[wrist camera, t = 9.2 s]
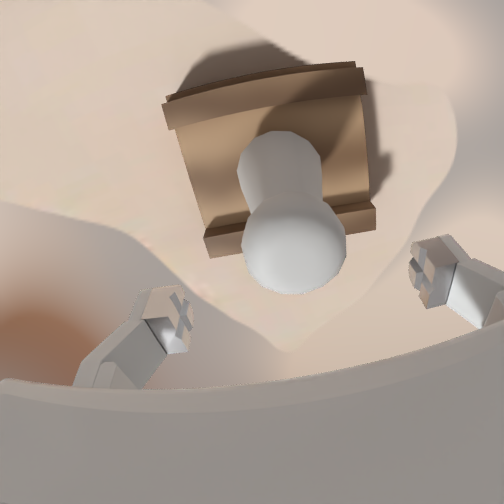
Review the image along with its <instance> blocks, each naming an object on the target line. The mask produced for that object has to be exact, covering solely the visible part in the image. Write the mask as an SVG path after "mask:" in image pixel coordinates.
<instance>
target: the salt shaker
mask: <svg viewBox="0 0 504 504" xmlns="http://www.w3.org/2000/svg"><path fill="white" fill-rule="evenodd" d="M237 174H238V178H239V182H240V186H241V189H242V192H243V194H244V197H245V199H246V202H247V204H248V207H249V209H250V212H251V215H250V216H249V217H248V219H247V223H246V226H245V230H244V234H243V237H242V243H241V247H242V251H243V255H244V259H245V262H246V265H247V269H248V272H249V274H250V275H251V276H252V277H253V278H254V279H255V280H256V281H257V282H258V283H259V284H260V285H261V286H262V287H264V288H267V289H269V290H272V291H275V292H278V293H280V294H304V293H307V292H310V291H312V290H315V289H318V288H321V287H323V286H324V285H325V284H326V283H328V282H329V281H330V280H331V279H332V278H334V277H335V276H336V275H337V274H338V273H339V271H340V269H341V267H342V264H343V262H344V260H345V258H346V236H345V229H344V226H343V225H342V223H341V222H340V220H339V219H338V217H337V216H336V214H335V213H334V212H333V210H332V209H331V207H330V206H329V204H327V203H326V202H324V201H323V194H322V169H321V161H320V156H319V154H318V153H317V151H316V150H315V149H314V147H313V146H312V145H311V143H310V142H309V141H308V140H306V139H304V138H302V137H301V136H299V135H297V134H295V133H293V132H291V131H270V132H267V133H265V134H263V135H260V136H258V137H256V138H254V139H253V140H252V141H251V142H250V144H249V145H248V146H247V147H246V148H245V149H244V151H243V152H242V153H241V156H240V160H239V164H238V168H237Z"/></svg>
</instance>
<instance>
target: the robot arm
mask: <svg viewBox="0 0 504 504" xmlns="http://www.w3.org/2000/svg"><path fill="white" fill-rule="evenodd" d="M410 252H411V254H412V255H413V258H412V260H411V261H410V262H409V277H410V280H411V283H412V285H413V286H414V288H416V289H417V290H419V291H420V294H419V297H420V299H421V301H422V302H423V304H424V306H425V308H426V309H429V308H433V307H436V306H441V305H444V304H446V305H447V306H448V307H449V308H451V309H452V310H454V311H455V312H456V313H458V314H459V315H460V316H462V317H463V318H465V319H466V320H467V321H469V322H470V323H471V324H473V325H474V326H475V327H477V328H478V330H476V331H473V332H470V333H468V334H465V335H462V336H459V337H456V338H454V339H451V340H448V341H445V342H442V343H439V344H436V345H432V346H429V347H426V348H423V349H419V350H416V351H413V352H409V353H406V354H403V355H399V356H395V357H391V358H388V359H383V360H379V361H375V362H371V363H367V364H363V365H358V366H354V367H349V368H345V369H340V370H335V371H330V372H325V373H320V374H314V375H308V376H302V377H296V378H290V379H283V380H275V381H268V382H259V383H251V384H241V385H231V386H219V387H205V388H186V389H150V390H149V389H142V388H143V387H144V386H145V384H146V383H147V381H148V380H149V379H150V378H151V376H152V375H153V374H154V372H155V371H156V370H157V368H158V367H159V366H160V364H161V363H162V362H163V360H164V359H165V358H166V356H167V354H174V353H182V352H189V347H190V342H191V336H190V334H189V331H190V330H191V329H192V328H193V323H194V317H193V311H192V308H191V305H190V303H189V302H188V301H187V300H185V299H184V295H185V292H184V290H183V288H182V286H180V285H172V286H164V287H157V288H151V289H144V290H141V291H140V292H139V294H138V296H137V299H136V301H135V304H134V306H133V309H132V311H131V314H130V317H129V319H128V321H127V322H123V323H122V324H121V325H120V326H119V327H118V328H117V329H116V330H115V331H114V332H113V333H111V334H110V335H109V336H108V337H107V338H106V339H105V340H104V341H103V342H102V343H101V344H100V345H98V346H97V347H96V348H95V349H94V350H93V351H92V352H91V353H90V354H89V355H88V356H87V357H86V358H85V359H83V360H82V362H81V365H80V367H79V370H78V372H77V375H76V377H75V380H74V383H73V386H63V385H53V384H44V383H36V382H29V381H23V380H17V379H11V378H7V379H3V380H2V381H1V382H0V504H504V272H503V271H501V270H499V269H497V268H495V267H492V266H490V265H488V264H486V263H484V262H482V261H479V260H477V259H471V258H470V257H469V256H468V254H467V253H466V252H465V251H464V250H463V249H462V248H461V246H460V245H459V244H458V243H457V242H456V241H455V240H454V239H453V237H452V236H451V235H449V234H446V235H442V236H437V237H435V238H430V239H426V240H421V241H416V242H413V243H412V245H411V251H410Z"/></svg>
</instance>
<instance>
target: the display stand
mask: <svg viewBox="0 0 504 504" xmlns="http://www.w3.org/2000/svg"><path fill="white" fill-rule="evenodd" d="M361 95H367V91H366V84H365V77H364V71H363V67H361V68H360V67H359V68H356V64H355V61H351V62H336V63H325V64H314V65H305V66H298V67H290V68H283V69H277V70H271V71H265V72H260V73H254V74H249V75H244V76H240V77H235V78H230V79H226V80H222V81H218V82H214V83H210V84H206V85H202V86H198V87H195V88H191V89H188V90H184V91H181V92H177V93H174V94H171V95H168V96H166V100H167V103H164V104H161V105H162V108H163V112H164V115H165V119H166V122H167V126H168V129H169V130H172V129H175V131H176V135H177V138H178V142H179V145H180V148H181V152H182V155H183V158H184V162H185V165H186V168H187V171H188V175H189V178H190V181H191V184H192V188H193V191H194V194H195V197H196V200H197V203H198V207H199V210H200V213H201V216H202V219H203V222H204V225H205V228H206V230H205V234H204V237H203V239H204V242H205V245H206V248H207V251H208V254H209V257H210V258H216V257H222V256H228V255H233V254H239V253H243V251H242V247H241V243H242V237H243V234H244V230H245V226H246V223H247V219H248V217H249V216H250V215H251V212H250V209H249V207H248V204H247V202H246V199H245V197H244V194H243V192H242V189H241V186H240V182H239V178H238V174H237V168H238V164H239V160H240V156H241V153H242V152H243V151H244V149H245V148H246V147H247V146H248V145H249V144H250V142H251V141H252V140H253V139H254V138H256V137H258V136H260V135H263V134H265V133H267V132H270V131H291V132H293V133H295V134H297V135H299V136H301V137H302V138H304V139H306V140H308V141H309V142H310V143H311V145H312V146H313V147H314V149H315V150H316V151H317V153H318V154H319V156H320V161H321V169H322V194H323V201H324V202H326V203H327V204H329V206H330V207H331V209H332V210H333V212H334V213H335V214H336V216H337V217H338V219H339V220H340V222H341V223H342V225H343V226H344V229H345V235H349V234H355V233H360V232H366V231H372V230H376V208H375V207H374V205H373V204H372V203H371V201H370V194H369V175H368V160H367V148H366V137H365V127H364V118H363V110H362V102H361Z"/></svg>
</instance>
